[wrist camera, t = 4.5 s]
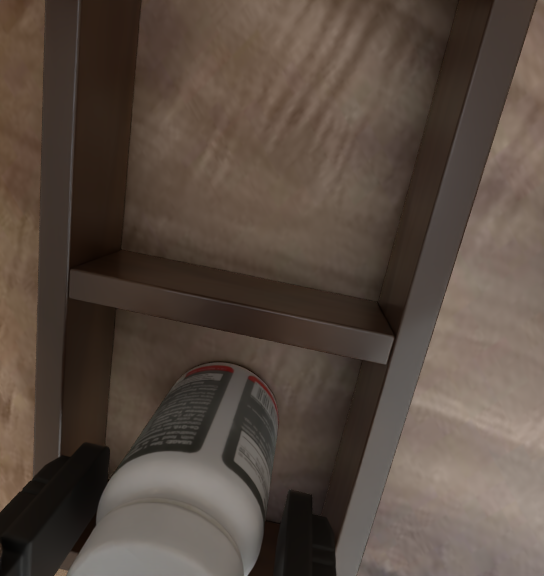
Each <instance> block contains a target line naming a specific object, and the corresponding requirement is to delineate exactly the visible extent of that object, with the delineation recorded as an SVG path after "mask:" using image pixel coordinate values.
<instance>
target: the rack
mask: <svg viewBox="0 0 544 576" xmlns="http://www.w3.org/2000/svg"><path fill="white" fill-rule="evenodd" d="M536 2H537V0H459V3H458V7H457V10H456V14H455V18H454V21H453V25H452V29H451V33H450V36H449V40H448V44H447V48H446V51H445V55H444V59H443V63H442V66H441V70H440V74H439V77H438V81H437V85H436V89H435V92H434V96H433V100H432V104H431V107H430V111H429V115H428V118H427V122H426V126H425V130H424V133H423V137H422V141H421V145H420V148H419V152H418V156H417V159H416V163H415V167H414V171H413V174H412V178H411V182H410V186H409V189H408V193H407V197H406V201H405V204H404V208H403V212H402V215H401V219H400V223H399V227H398V230H397V234H396V238H395V242H394V245H393V249H392V253H391V256H390V260H389V264H388V268H387V271H386V275H385V279H384V283H383V286H382V290H381V294H380V298H379V301H378V303H377V302H375V301H370V300H365V299H360V298H355V297H350V296H345V295H340V294H335V293H331V292H326V291H321V290H316V289H311V288H306V287H301V286H296V285H291V284H287V283H282V282H277V281H272V280H267V279H262V278H257V277H252V276H247V275H242V274H238V273H233V272H228V271H223V270H218V269H213V268H208V267H203V266H198V265H193V264H189V263H184V262H179V261H174V260H169V259H164V258H159V257H154V256H149V255H144V254H140V253H135V252H130V251H125V250H121V238H122V226H123V213H124V201H125V189H126V177H127V164H128V152H129V140H130V128H131V115H132V103H133V91H134V79H135V67H136V54H137V42H138V30H139V18H140V5H141V0H45V33H44V72H43V111H42V150H41V189H40V227H39V266H38V305H37V344H36V383H35V422H34V461H33V477H34V476H35V475H36V474H37V473H38V472H39V471H40V470H41V469H42V468H43V467H44V466H45V465H46V464H48V463H49V462H51V461H53V460H55V459H56V458H58V457H60V456H62V455H64V456H68V457H71V456H72V455H73V454H74V453H75V451H76V450H77V449H78V448H79V447H80V446H81V445H82V444H83V443H84V442H88V443H93V444H97V445H101V446H105V434H106V422H107V409H108V397H109V385H110V373H111V360H112V348H113V336H114V324H115V311H116V308H118V309H123V310H128V311H132V312H137V313H142V314H147V315H151V316H156V317H161V318H165V319H170V320H175V321H180V322H184V323H189V324H194V325H198V326H203V327H208V328H213V329H217V330H222V331H227V332H232V333H236V334H241V335H246V336H250V337H255V338H260V339H265V340H269V341H274V342H279V343H283V344H288V345H293V346H298V347H302V348H307V349H312V350H317V351H321V352H326V353H331V354H335V355H340V356H345V357H350V358H354V359H359V360H363V361H362V365H361V368H360V372H359V376H358V380H357V383H356V387H355V391H354V395H353V398H352V402H351V406H350V409H349V413H348V417H347V421H346V424H345V428H344V432H343V436H342V439H341V443H340V447H339V450H338V454H337V458H336V462H335V465H334V469H333V473H332V477H331V480H330V484H329V488H328V491H327V495H326V499H325V503H324V506H323V510H322V514H321V516H324V517H327V519H328V521H329V523H330V525H331V528H332V530H333V532H334V538H335V556H336V574H337V576H357V573H358V570H359V567H360V563H361V560H362V557H363V554H364V551H365V547H366V544H367V541H368V538H369V535H370V531H371V528H372V525H373V522H374V519H375V516H376V512H377V509H378V506H379V503H380V500H381V496H382V493H383V490H384V487H385V484H386V480H387V477H388V474H389V471H390V468H391V465H392V461H393V458H394V455H395V452H396V449H397V445H398V442H399V439H400V436H401V433H402V430H403V426H404V423H405V420H406V417H407V414H408V410H409V407H410V404H411V401H412V398H413V394H414V391H415V388H416V385H417V382H418V379H419V375H420V372H421V369H422V366H423V363H424V359H425V356H426V353H427V350H428V347H429V343H430V340H431V337H432V334H433V331H434V328H435V324H436V321H437V318H438V315H439V312H440V308H441V305H442V302H443V299H444V296H445V292H446V289H447V286H448V283H449V280H450V277H451V273H452V270H453V267H454V264H455V261H456V257H457V254H458V251H459V248H460V245H461V241H462V238H463V235H464V232H465V229H466V226H467V222H468V219H469V216H470V213H471V210H472V206H473V203H474V200H475V197H476V194H477V190H478V187H479V184H480V181H481V178H482V175H483V171H484V168H485V165H486V162H487V159H488V155H489V152H490V149H491V146H492V143H493V139H494V136H495V133H496V130H497V127H498V124H499V120H500V117H501V114H502V111H503V108H504V104H505V101H506V98H507V95H508V92H509V88H510V85H511V82H512V79H513V76H514V73H515V69H516V66H517V63H518V60H519V57H520V53H521V50H522V47H523V44H524V41H525V37H526V34H527V31H528V28H529V25H530V22H531V18H532V15H533V12H534V9H535V6H536ZM120 250H121V251H120ZM96 515H97V512H96V513H95V515H94V516H93V518H92V519H91V521H90V522H89V524H88V525H87V527H86V528H85V530H84V531H83V533H82V534H81V536H80V537H79V539H78V540H77V542H76V543H75V545H74V546H73V548H72V549H71V551H70V552H69V554H68V555H67V557H66V558H65V560H64V561H63V563H62V565H61V566H60V568H59V569H63V570H67V571H69V569H70V567H71V565H72V564H73V562H74V561H75V559H76V557H77V556H78V554H79V552H80V551H81V549H82V547H83V546H84V544H85V543H86V541H87V539H88V538H89V536H90V534H91V533H92V531H93V529H94V528H95V527H96ZM279 528H280V524H277V523H273V522H269V521H265V529H264V535H263V540H262V545H261V549H260V553H259V556H258V558H257V561H256V563H255V565H254V567H253V568H252V570H251V571H250V573H249V574H248V576H273V573H274V563H275V554H276V545H277V539H278V533H279Z"/></svg>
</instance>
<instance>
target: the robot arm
mask: <svg viewBox="0 0 544 576" xmlns="http://www.w3.org/2000/svg"><path fill="white" fill-rule="evenodd" d="M109 455H110V449H109V447H106V446H101V445H97V444H93V443H88V442H84V443H83V444H82V445H81V446H80V447H79V448H78V449H77V450H76V451H75V453H74V454H73V455H72V456H71V457H68V456H64V455H62V456H60V457H58V458H56V459H55V460H53V461H51V462H49V463H48V464H46V465H45V466H44V467H43V468H42V469H41V470H40V471H39V472H38V473H37V474H36V475H35V476H34V477H33V479H32V481H30V482H29V483H28V484H27V485H26V486H25V487H24V488H23V490H22V491H21V492H19V493H18V494H17V495H16V496H15V497H14V498H13V499H12V500H11V502H10V503H9V504H8V505H7V506H6V507H5V508H4V509H3V510H2V511H1V512H0V576H54V575H55V574H56V572H57V571H58V569H59V568H60V566H61V565H62V563H63V561H64V560H65V558H66V557H67V555H68V554H69V552H70V551H71V549H72V548H73V546H74V545H75V543H76V542H77V540H78V539H79V537H80V536H81V534H82V533H83V531H84V530H85V528H86V527H87V525H88V524H89V522H90V521H91V519H92V518H93V516H94V515H95V513H96V512H97V509H98V504H99V501H100V498H101V495H102V493H103V491H104V489H105V487H106V485H107V478H108V467H109ZM273 576H337V574H336V556H335V538H334V532H333V530H332V528H331V525H330V523H329V521H328V519H327V517H324V516H319V515H315V514H312V494H307V493H303V492H299V491H294V490H290V489H289V491H288V494H287V499H286V503H285V507H284V511H283V516H282V520H281V524H280V528H279V533H278V539H277V545H276V554H275V563H274V573H273Z"/></svg>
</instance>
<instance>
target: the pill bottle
mask: <svg viewBox="0 0 544 576" xmlns="http://www.w3.org/2000/svg"><path fill="white" fill-rule="evenodd" d="M278 425H279V414H278V407H277V404H276V401H275V398H274V396H273V394H272V392H271V391H270V389H269V388H268V386H267V385H266V384H265V383H264V382H263V381H262V380H261V379H260V378H259V377H258V376H256V375H255V374H254V373H252V372H250V371H249V370H247V369H245V368H243V367H240V366H237V365H234V364H230V363H219V362H215V363H207V364H203V365H200V366H197V367H195V368H193V369H191V370H189V371H188V372H186V373H185V374H184V375H183V376H181V377H180V379H179V380H178V381H177V382H176V383H175V384H174V386H173V387H172V388H171V390H170V391H169V393H168V394H167V395H166V397H165V398H164V400H163V401H162V403H161V404H160V406H159V407H158V409H157V410H156V412H155V413H154V415H153V416H152V418H151V419H150V421H149V422H148V424H147V425H146V426H145V428H144V429H143V431H142V433H141V434H140V436H139V437H138V439H137V440H136V442H135V443H134V444H133V446H132V447H131V449H130V450H129V452H128V453H127V455H126V456H125V458H124V459H123V461H122V462H121V464H120V465H119V467H118V468H117V469H116V471H115V472H114V474H113V475H112V477H111V479H110V480H109V482H108V484H107V485H106V487H105V489H104V491H103V493H102V495H101V498H100V501H99V504H98V509H97V515H96V527H95V528H94V529H93V531H92V533H91V534H90V536H89V538H88V539H87V541H86V543H85V544H84V546H83V547H82V549H81V551H80V552H79V554H78V556H77V557H76V559H75V561H74V562H73V564H72V565H71V567H70V569H69V571H68V573H67V576H248V574H249V573H250V571H251V570H252V568H253V567H254V565H255V563H256V561H257V558H258V556H259V553H260V549H261V545H262V540H263V535H264V529H265V520H266V513H267V505H268V498H269V491H270V483H271V476H272V469H273V461H274V455H275V447H276V440H277V434H278Z"/></svg>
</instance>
